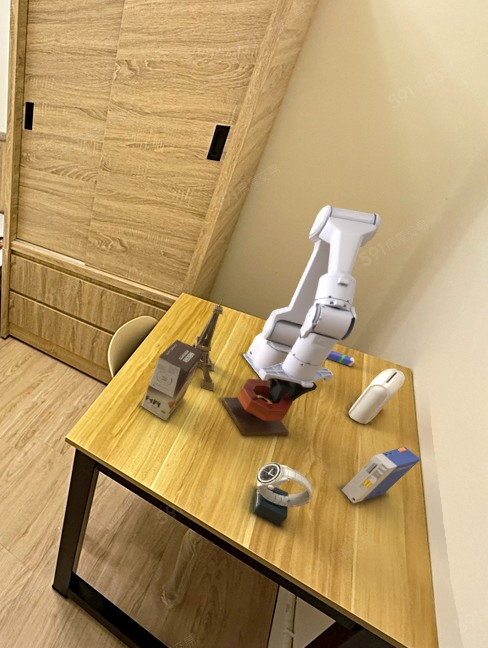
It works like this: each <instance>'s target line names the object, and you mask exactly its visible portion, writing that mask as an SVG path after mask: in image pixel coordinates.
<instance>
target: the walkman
mask: <svg viewBox="0 0 488 648" xmlns="http://www.w3.org/2000/svg"><path fill="white" fill-rule="evenodd" d="M420 461H421V458H420V457H419V456H418V455H416V454H415V453H414V452H413V451H411V450H410V449H409V448H407V446H401V447H398V448H395V449H392V450H388V451H384V452H381V453H377V454H374V455H373V456H372V457H371V458H370V460H368V461H367V463H366V464H365V465H364V466H363V467H362V468H361V469H360V470H358V472H356V474H355V475H354V476H353V477H352V478H351V479H350V480H349V481H348V483H347V484H346V485H345V486H344V487H343V488H342V489H341V492H343V494H345V496H346V497H347V498H348V499H349V501H350V502H351V503H353V504H357V503H361V502H362V501H367V500H369V499H372V498H375V497H379V496H381V495H384V494H386V493H387V492H388V491H389V490H390V489H391V488H393V486H394V485H395V484H396V483H397V482H398V481H400V480H401V479H402V478H403V477H404V476H405V475H406V474H407V473H408V472H409V471H410V470H411V469H412V468H413V467H415V466H416V465H417V464H418V463H419V462H420Z"/></svg>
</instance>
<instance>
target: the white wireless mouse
mask: <svg viewBox="0 0 488 648" xmlns="http://www.w3.org/2000/svg"><path fill="white" fill-rule="evenodd" d="M405 381H406V377H405V374H404V373H403V371H402V370H398V369H397V368H393V367H392V368H386V369H384V370H382V371H381V372H379V373H378V375H377V376H375V377H374V379H372V381H371V382H370V383H369V385H368V386H367V387H366V388H365V390H364V391H363V392H362V393H361V395H360V396H359V397H358V398H357V399H356V401H355V402H354V404H352V406H351V407H350V409H349V411H348V413H347V414H348V415H349V417H350V418H351V419H352V420H354V421H355V422H357V423H360V424H363V425H366V424H368V423H370V422H371V421H373V419H374V418H375V417H376V416H377V415H378V414H379V413H380V412H381V410H382V409H383V408H384V407H385V406H386V405H387V403H388V402H389V401H390V400H391V399H392V398H393V397H394V396H395V395H396V393H398V391H399V390H400V389H401V387H402V386H403V385H404V383H405Z"/></svg>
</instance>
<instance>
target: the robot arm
mask: <svg viewBox="0 0 488 648" xmlns="http://www.w3.org/2000/svg"><path fill="white" fill-rule="evenodd" d="M381 223H382V219H381V216H380V214H379V213H370V212H365V211H358V210H354V209H353V210H352V209H348V208H342V207H336V206H331V205H329V204H328V205H325V206H323V207H322V208H321V209H320V210H319V212H318V213H317V215H316V217H315V219H314V222H313V225H312V227H311V229H310V232H309V236H308V239H309V240H310V241H311V242H312V243H314V247H313V251H312V253H311V255H310V258H309V260H308V262H307V265H306V266H305V269H304V271H303V273H302V276H301V277H300V280H299V282H298V285H297V287H296V289H295V291H294V294H293V296H292V298H291V300H290V303H289V304H288V306H285V307H281V308H276V309H274V310H273V311H272V312H271V313H270V314H269V317H268V318H267V320H265V323H264V326H263V328H262V332H260V333H258V334H257V335H256V336H255V337H254V339H253V341H252V342H251V345H250V347H249V348H248V350H247V352H246V353H243V354H242V355H243V357H244V358H245V360H246V361H247V362H248V364H249V365H250V367H252V369H253V371H254V372H256V374H257V376H259V379H262V380H266V381H269V382H270V391H269V396H268V397H269V399H270V400H271V401H272V403H273V404H277V403H278V402H279V401H280V400H281V398H282V397H283V396H284V395H285V394H286V393H287V394H288V396H289V397H290V398H291V399H292V401H293V402H294V401H296V400H297V399H299V398H300V397H302V396H303V395H306V394H307V393H309V392H313V391H316V389H317V388H318V385H317V384H316V383H315V382H318V381H322V380H323V381H324V382H330V381H331V379H333V377H334V375H335V374H334V373H333V372H332V371H331V370H330V369H329V368H327V367H326V368H325V367H322V366H323V365H324V363H325V362H326V360H327V359H328V358H327V357H328V356H329V354H330V353H331V351H334V348H335V347H336V345H338V343H339V341H340V340H341V341H346V340H347V339H349V337H350V336H351V335H352V333H353V331H354V329H355V326H356V323H357V318H358V316H357V313H356V307H355V306H353V305H354V304H353V303H354V299H355V294H356V289H357V284H358V283H357V280H356V278H355V277H354V276H353V275H352V272H353V269H354V267H355V264H356V260H357V257H358V254H359V251H360V249H361V248H362V247H363V248H364V246H366V245H367V243H369V242H370V241H372V239H373V238H375V236H376V234H377V233H378V230H379V228H380V227H381ZM271 401H270V402H271Z"/></svg>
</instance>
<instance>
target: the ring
mask: <svg viewBox="0 0 488 648" xmlns="http://www.w3.org/2000/svg"><path fill="white" fill-rule="evenodd" d="M269 391H270V380H267V381H266V380H262V379H261V378H248V379H247V380H246V381H245V383H244V384H243V386H242V388H241V389H240V391H239V393H238V395H237V397H236V398H238V400H239V401H240V403H241V404H242V406H243V407H244V409H245V410H246V411H247V412H249V413H251V414H253V415H255V416H256V417H258V418H260V419H262V420H264V421H281V422H282V421H283V420H284V419H285V417H286V416H287V414H288V412H289V411H290V408H291V406H292V405H293V403H294V401H292V399H291V398H290V397H289V396H288V394H287V393H286V394H285V395H284V396H283V397H282V398H281V400H280V401H279V402H278V403H277V404H273V403H272V401H271V400H270V399H269V397H268V396H269ZM259 397H263V398H265V399H266V400H267V401H268V402H266V401H264V400H262V399H260V398H259Z"/></svg>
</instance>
